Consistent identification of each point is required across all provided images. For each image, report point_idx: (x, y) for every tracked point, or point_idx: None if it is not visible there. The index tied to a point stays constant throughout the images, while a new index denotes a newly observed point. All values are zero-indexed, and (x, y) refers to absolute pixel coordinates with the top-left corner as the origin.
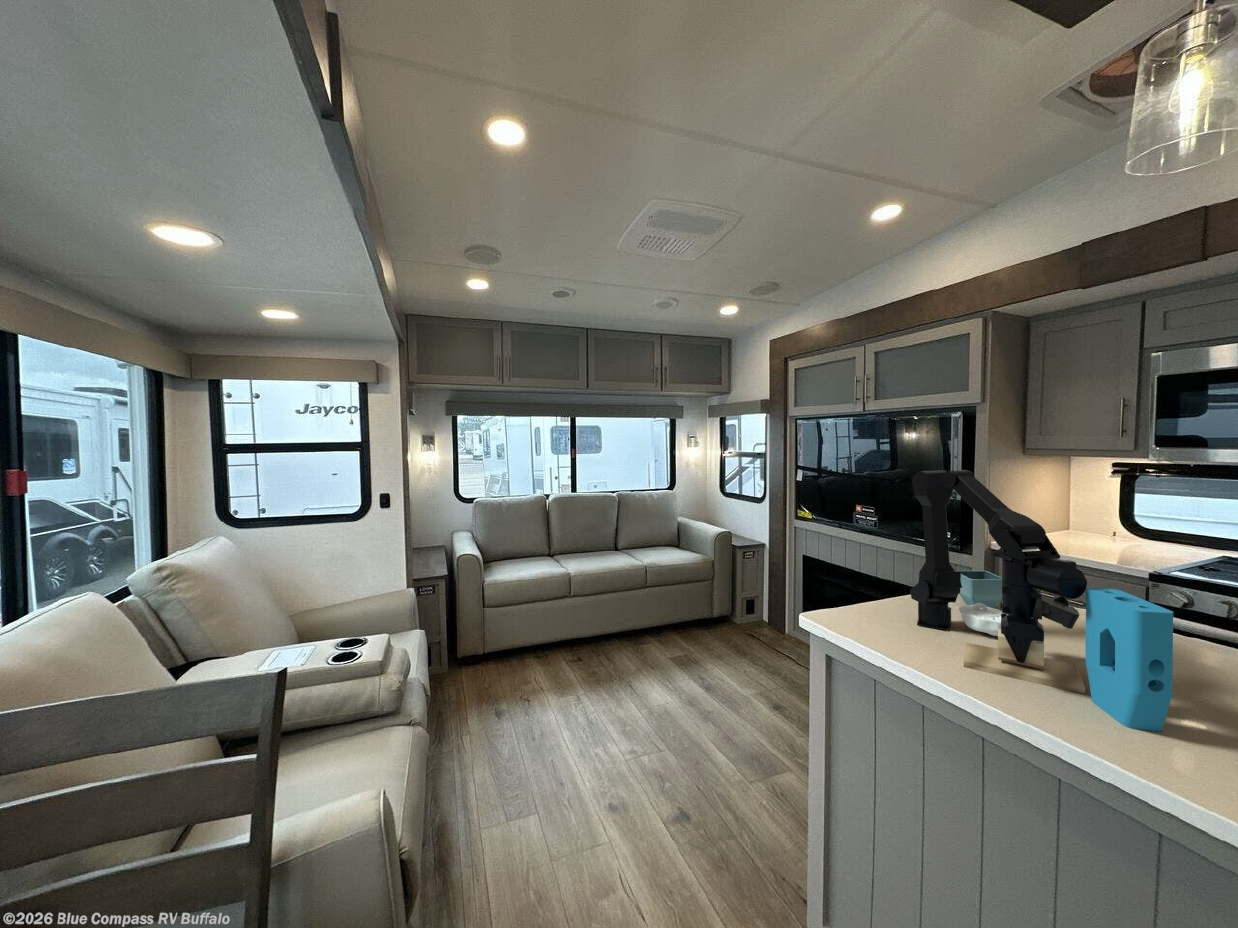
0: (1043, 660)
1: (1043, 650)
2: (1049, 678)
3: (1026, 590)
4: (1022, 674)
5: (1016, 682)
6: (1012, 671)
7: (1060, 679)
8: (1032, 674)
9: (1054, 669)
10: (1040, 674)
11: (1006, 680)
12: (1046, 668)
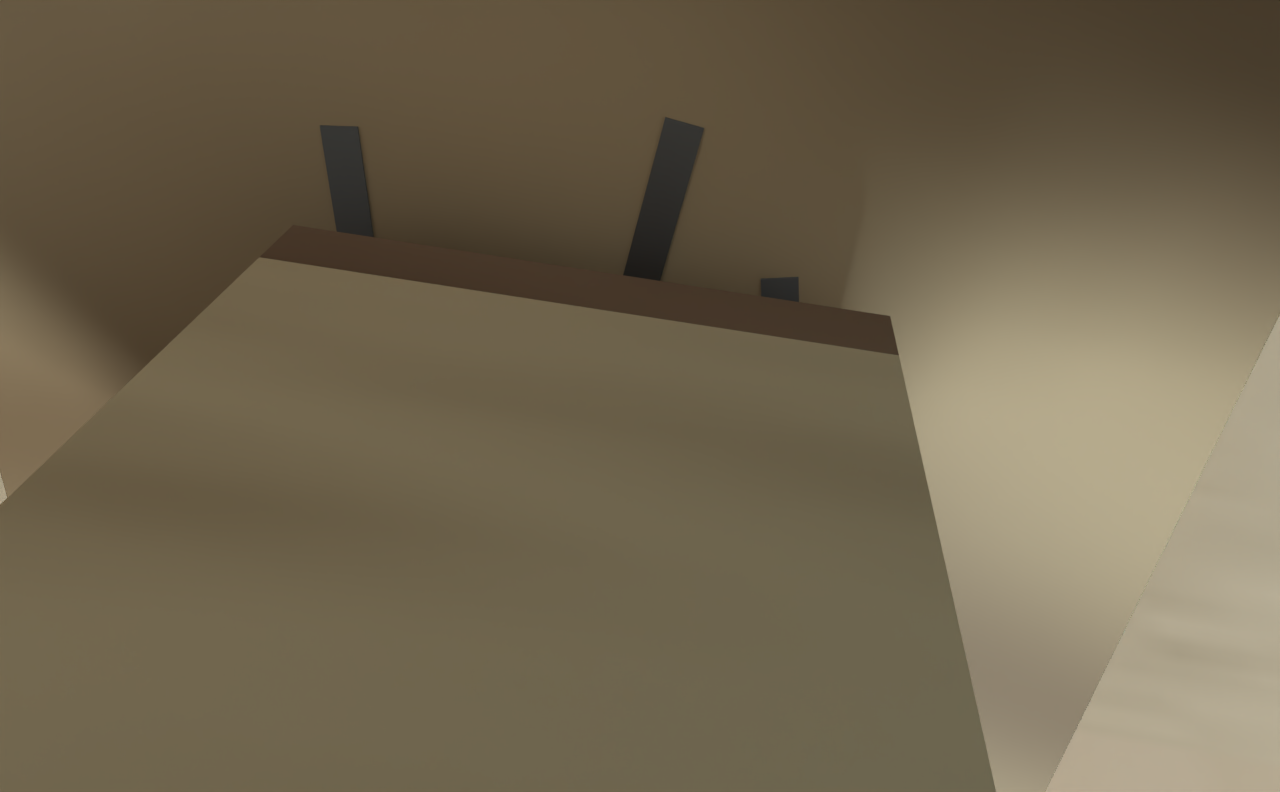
0: (905, 454)
1: (965, 720)
2: (1224, 254)
3: None
4: (1119, 632)
5: (1225, 648)
6: (1063, 745)
7: (1225, 26)
8: (1086, 501)
9: (579, 14)
10: (1049, 376)
11: (1184, 741)
12: (609, 180)
